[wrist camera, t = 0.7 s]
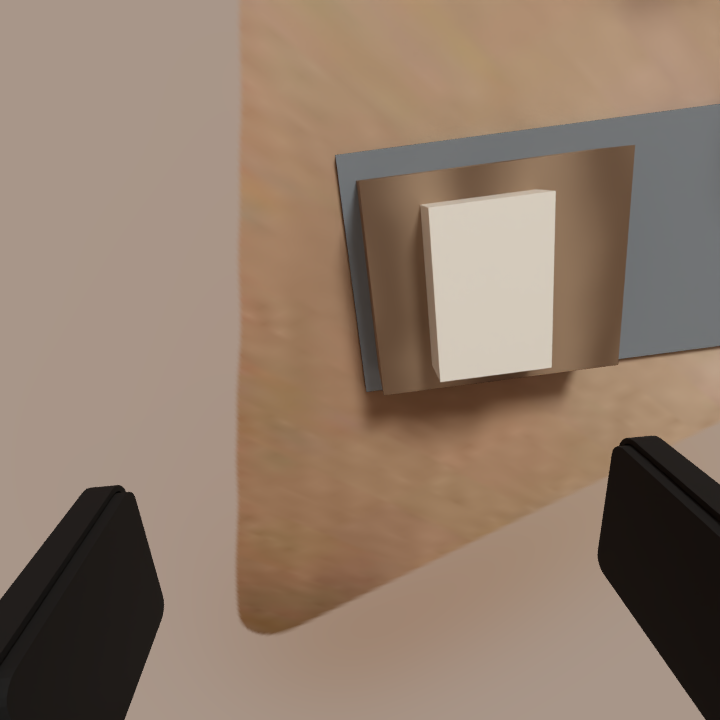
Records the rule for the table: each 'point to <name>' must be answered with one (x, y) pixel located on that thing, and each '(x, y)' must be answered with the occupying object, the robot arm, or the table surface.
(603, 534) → the robot arm
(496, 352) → the cream tile
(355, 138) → the table surface
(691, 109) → the rubber mat
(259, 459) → the table surface
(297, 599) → the table surface
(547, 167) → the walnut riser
